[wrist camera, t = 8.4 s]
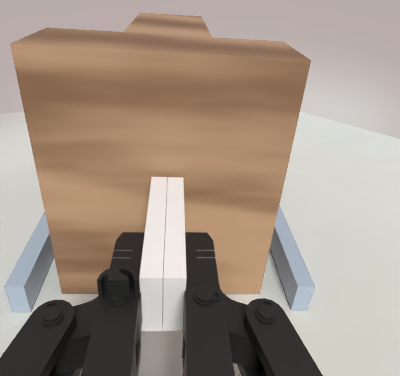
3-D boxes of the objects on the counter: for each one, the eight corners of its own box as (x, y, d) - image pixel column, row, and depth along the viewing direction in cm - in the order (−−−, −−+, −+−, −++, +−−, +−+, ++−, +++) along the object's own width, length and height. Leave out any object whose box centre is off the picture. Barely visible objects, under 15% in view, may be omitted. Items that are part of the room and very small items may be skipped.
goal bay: (83, 162, 35) (81, 143, 34) (252, 166, 36) (254, 149, 35) (12, 312, 20) (4, 286, 19) (307, 310, 21) (314, 286, 20)
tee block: (103, 176, 33) (88, 9, 25) (230, 179, 34) (250, 19, 26) (61, 293, 21) (10, 43, 14) (259, 293, 22) (310, 60, 15)
